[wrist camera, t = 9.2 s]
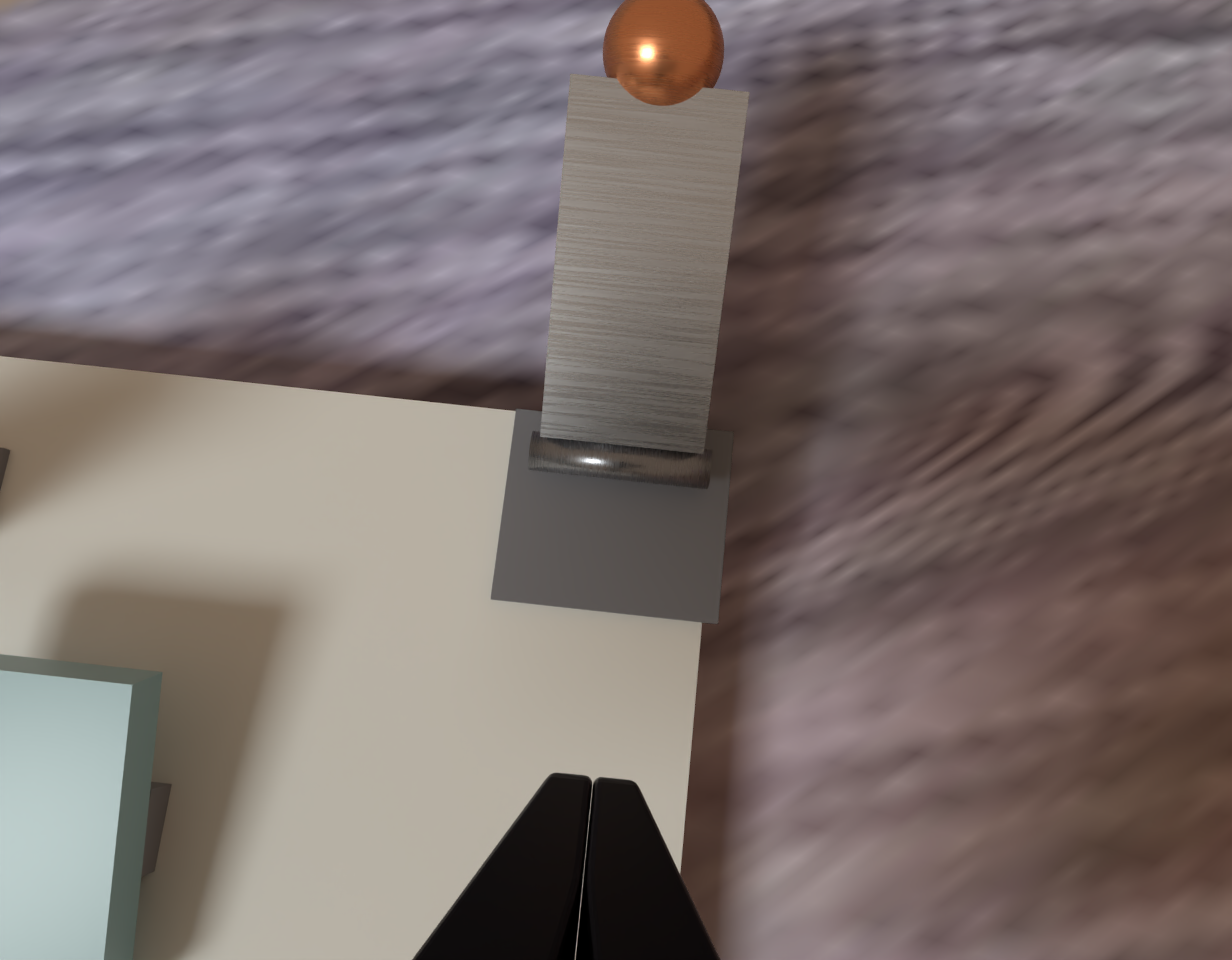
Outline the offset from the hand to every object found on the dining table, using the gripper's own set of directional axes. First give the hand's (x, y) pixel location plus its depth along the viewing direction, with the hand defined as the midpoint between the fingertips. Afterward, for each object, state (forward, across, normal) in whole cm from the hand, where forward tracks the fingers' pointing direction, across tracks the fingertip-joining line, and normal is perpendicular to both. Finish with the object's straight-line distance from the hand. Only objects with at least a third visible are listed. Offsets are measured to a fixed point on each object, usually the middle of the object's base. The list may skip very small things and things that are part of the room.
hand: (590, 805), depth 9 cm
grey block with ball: (+10, 0, -2) cm, 10 cm away
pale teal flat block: (+4, -10, -8) cm, 13 cm away
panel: (+7, -8, -9) cm, 14 cm away
